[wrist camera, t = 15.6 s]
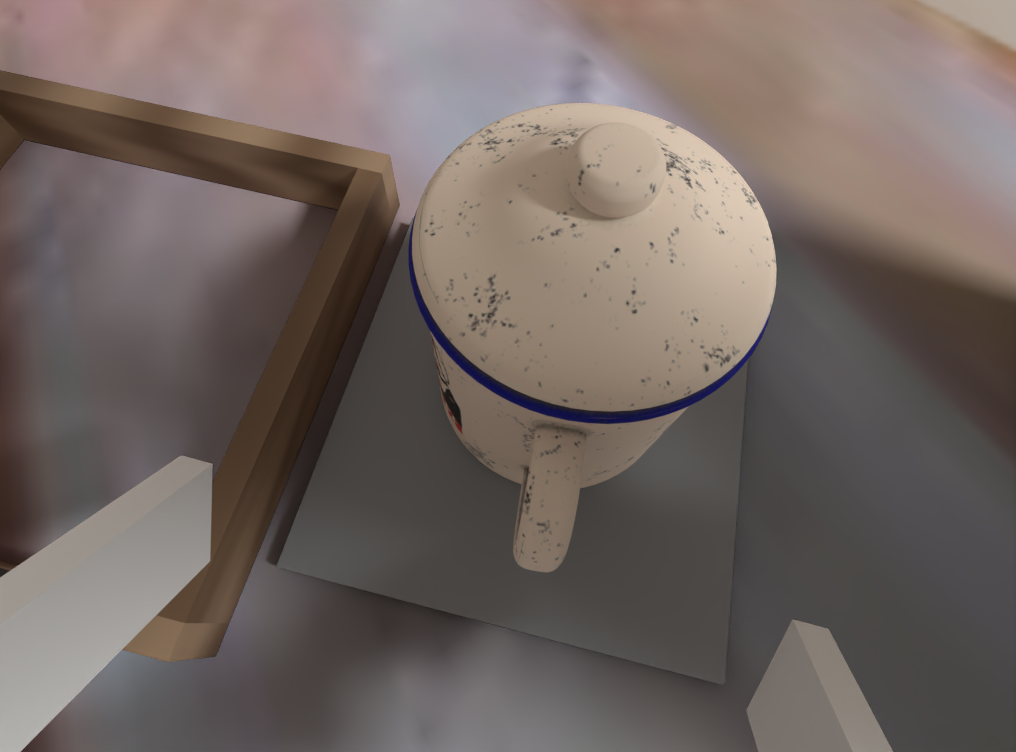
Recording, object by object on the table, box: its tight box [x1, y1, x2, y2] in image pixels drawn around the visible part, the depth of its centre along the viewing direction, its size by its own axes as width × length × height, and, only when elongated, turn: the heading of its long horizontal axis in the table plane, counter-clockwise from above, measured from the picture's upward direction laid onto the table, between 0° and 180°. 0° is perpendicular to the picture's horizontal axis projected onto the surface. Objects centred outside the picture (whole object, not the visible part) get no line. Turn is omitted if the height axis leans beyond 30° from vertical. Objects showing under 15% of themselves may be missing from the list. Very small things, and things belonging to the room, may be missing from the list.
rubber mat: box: [276, 218, 748, 685], centre depth 22 cm, size 15×15×1 cm
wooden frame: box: [0, 71, 400, 662], centre depth 21 cm, size 19×19×3 cm
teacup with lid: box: [408, 103, 777, 572], centre depth 16 cm, size 12×9×12 cm
